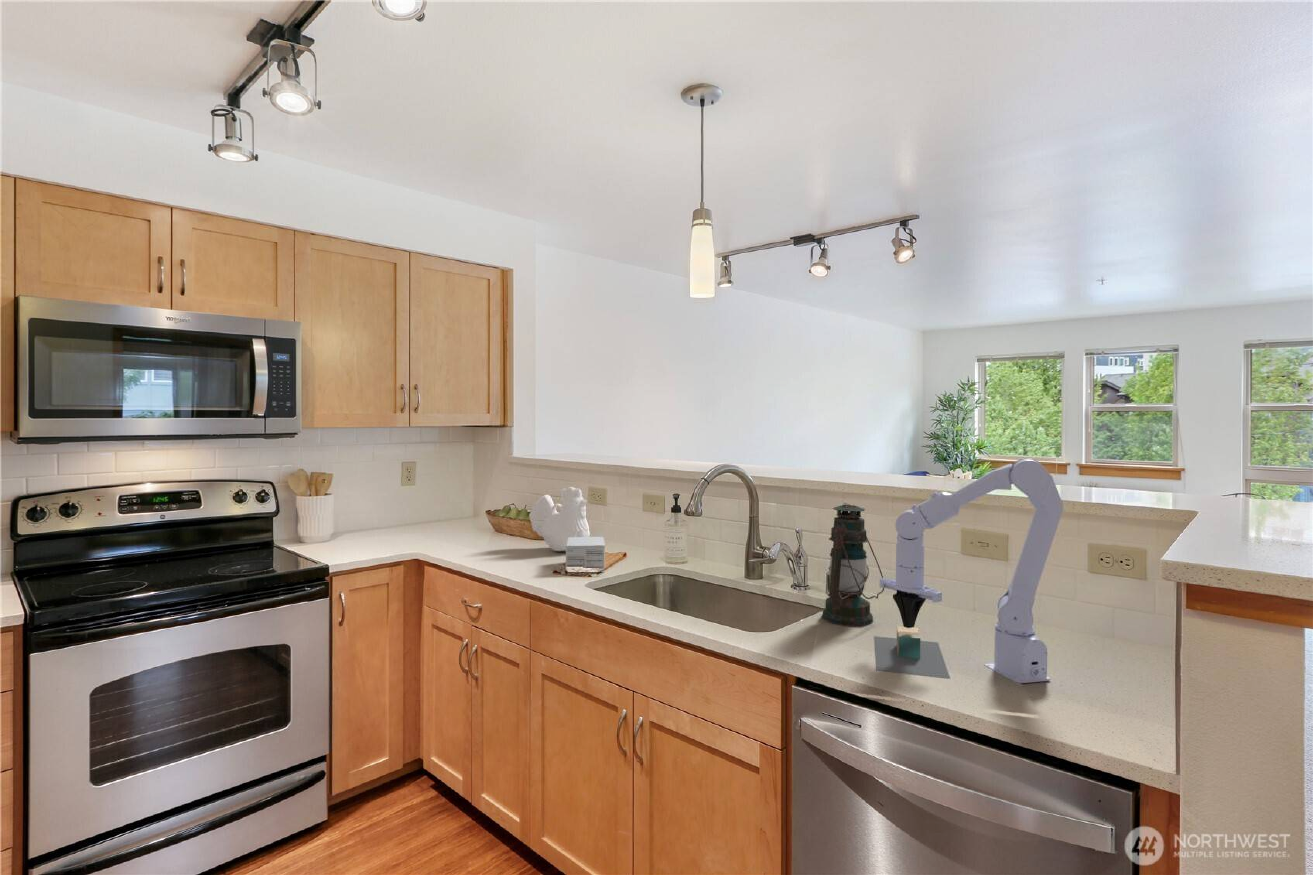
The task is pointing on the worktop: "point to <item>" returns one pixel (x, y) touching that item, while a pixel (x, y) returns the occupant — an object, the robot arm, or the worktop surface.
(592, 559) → the supplement box
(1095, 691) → the worktop surface
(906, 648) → the oak block
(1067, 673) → the worktop surface
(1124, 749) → the worktop surface
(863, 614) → the lantern
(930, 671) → the mat
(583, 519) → the decorative rooster
